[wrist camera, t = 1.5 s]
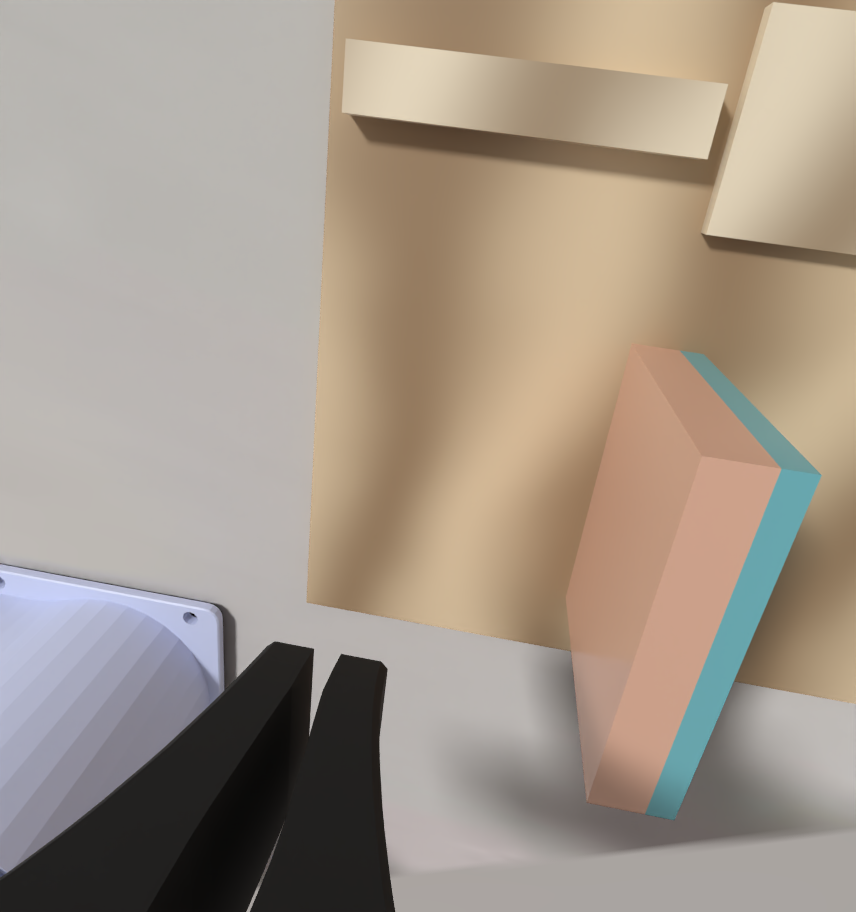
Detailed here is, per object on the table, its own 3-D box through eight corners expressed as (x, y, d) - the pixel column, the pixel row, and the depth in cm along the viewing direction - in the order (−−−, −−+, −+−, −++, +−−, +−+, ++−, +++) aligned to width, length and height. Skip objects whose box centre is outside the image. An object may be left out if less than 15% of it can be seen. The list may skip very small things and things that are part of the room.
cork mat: (310, 593, 21) (306, 602, 21) (344, -79, 14) (339, -87, 13) (865, 694, 20) (872, 706, 20) (1238, 16, 13) (1264, 11, 12)
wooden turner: (346, 184, 16) (337, 184, 15) (359, -38, 14) (350, -49, 13) (969, 268, 15) (992, 273, 14) (1074, 41, 13) (1108, 34, 12)
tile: (565, 597, 20) (586, 802, 13) (631, 343, 16) (701, 456, 10) (624, 608, 19) (674, 820, 13) (704, 354, 16) (821, 475, 10)
